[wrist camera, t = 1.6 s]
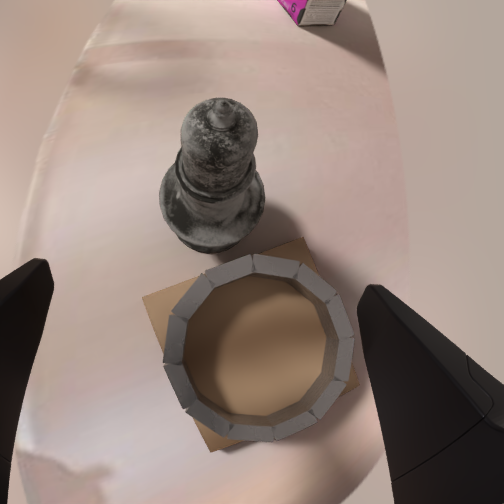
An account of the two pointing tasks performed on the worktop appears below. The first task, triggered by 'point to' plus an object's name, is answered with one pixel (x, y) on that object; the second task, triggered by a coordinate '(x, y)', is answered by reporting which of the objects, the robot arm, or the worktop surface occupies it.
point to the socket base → (255, 346)
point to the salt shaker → (214, 178)
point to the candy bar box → (313, 11)
